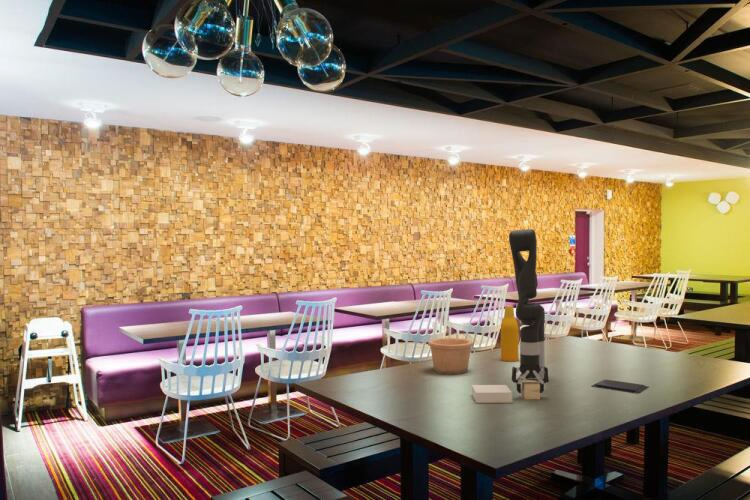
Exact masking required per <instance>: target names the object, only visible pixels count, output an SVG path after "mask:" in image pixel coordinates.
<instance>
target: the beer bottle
mask: <svg viewBox="0 0 750 500" xmlns="http://www.w3.org/2000/svg"><path fill="white" fill-rule="evenodd" d="M514 310H515V309H514V305H505V306H504V313H503V319H502V321H501V323H500V358H501V361H503V362H510V361H511V362H517V361H519V360H520V353H519V325H518V322H517V320H516V317H515V313H514V312H515V311H514Z"/></svg>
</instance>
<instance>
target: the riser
mask: <svg viewBox="0 0 750 500" xmlns="http://www.w3.org/2000/svg"><path fill="white" fill-rule="evenodd" d="M471 396H472V398H473V399H474V401H475V403H476V404H477V403H478V404H479V403H480V404H482V403H483V404H485V403H487V404H488V403H489V404H494V403H495V404H497V403H499V404H500V403H501V404H502V403H504V404H507V403H508V404H509V403H513V391H512V390H511V389H510V388H509V387H508V386H507V384H472V385H471Z"/></svg>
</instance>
